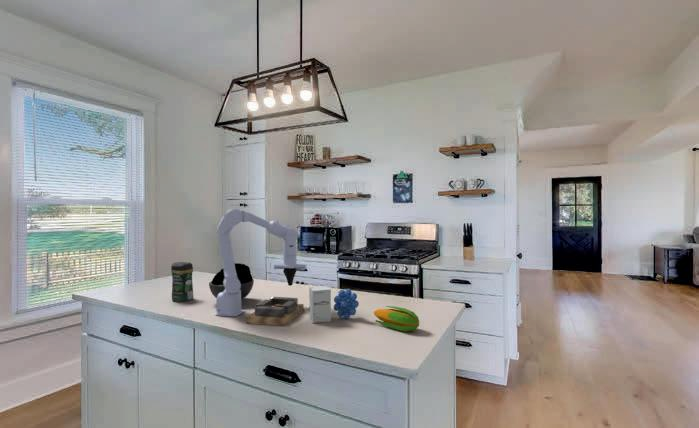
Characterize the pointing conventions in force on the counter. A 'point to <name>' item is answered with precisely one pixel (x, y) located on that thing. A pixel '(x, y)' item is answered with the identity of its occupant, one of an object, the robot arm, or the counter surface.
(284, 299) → the hinged leg
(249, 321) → the wooden board with bars
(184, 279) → the coffee jar
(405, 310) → the corn
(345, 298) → the grapes
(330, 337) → the counter surface
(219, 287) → the coal bowl
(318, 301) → the supplement box
